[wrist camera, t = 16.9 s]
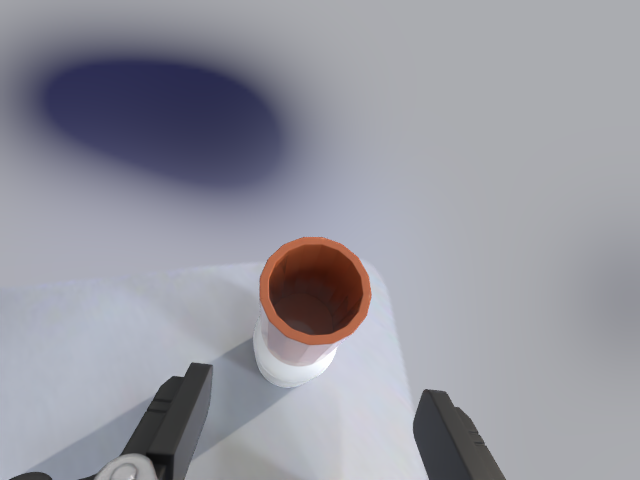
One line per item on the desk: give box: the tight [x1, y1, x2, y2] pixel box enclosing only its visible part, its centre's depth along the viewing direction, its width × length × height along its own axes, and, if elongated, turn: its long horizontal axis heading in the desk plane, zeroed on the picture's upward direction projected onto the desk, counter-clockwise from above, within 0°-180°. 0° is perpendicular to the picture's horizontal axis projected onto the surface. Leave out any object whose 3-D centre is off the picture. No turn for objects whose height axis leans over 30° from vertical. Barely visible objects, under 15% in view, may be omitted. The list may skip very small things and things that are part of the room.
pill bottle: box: [253, 316, 337, 388], centre depth 34 cm, size 8×8×15 cm
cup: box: [260, 237, 372, 367], centre depth 23 cm, size 6×6×10 cm
